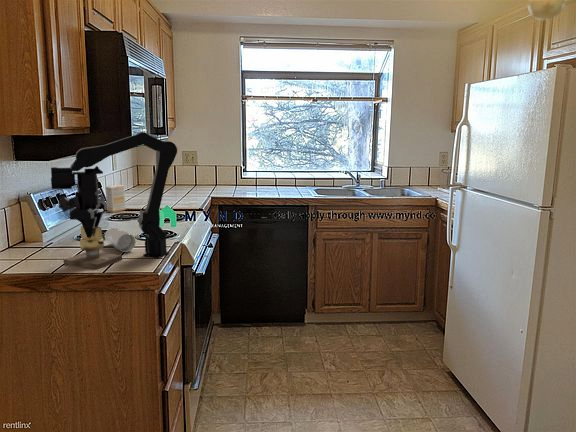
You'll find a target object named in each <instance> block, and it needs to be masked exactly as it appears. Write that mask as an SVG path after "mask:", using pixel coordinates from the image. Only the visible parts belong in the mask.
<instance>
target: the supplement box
mask: <svg viewBox="0 0 576 432" xmlns="http://www.w3.org/2000/svg"><path fill="white" fill-rule="evenodd" d="M105 194H106V203H107V209H106V210H107V212H108V213H117V212H121V211H126V210H127V209H126V196H125V185H123V184H122V185H119V184H117V185H109V186H105Z"/></svg>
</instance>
